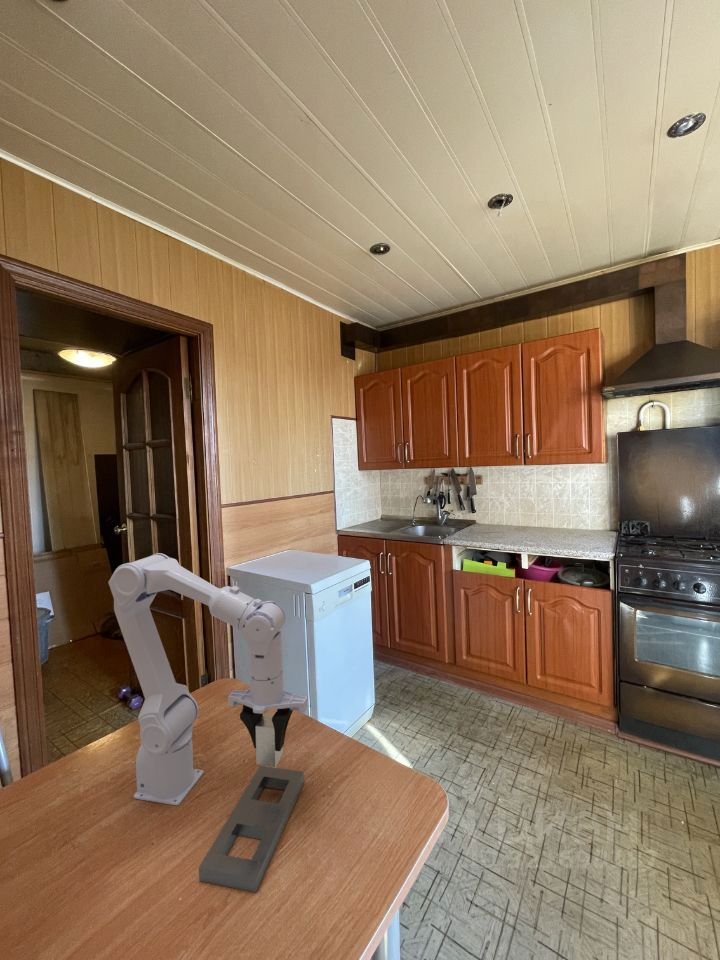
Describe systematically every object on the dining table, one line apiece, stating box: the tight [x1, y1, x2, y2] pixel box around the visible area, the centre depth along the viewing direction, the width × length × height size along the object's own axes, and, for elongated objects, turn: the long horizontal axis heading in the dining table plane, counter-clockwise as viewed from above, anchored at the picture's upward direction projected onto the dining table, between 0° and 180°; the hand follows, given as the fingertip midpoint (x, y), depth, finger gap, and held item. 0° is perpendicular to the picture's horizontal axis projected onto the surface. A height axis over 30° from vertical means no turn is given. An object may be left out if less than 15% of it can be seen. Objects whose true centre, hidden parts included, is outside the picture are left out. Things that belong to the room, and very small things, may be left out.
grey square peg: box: [255, 713, 284, 768], centre depth 72 cm, size 4×4×7 cm
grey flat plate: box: [198, 765, 305, 893], centre depth 67 cm, size 9×20×2 cm, turn 168°
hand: (269, 746), depth 72 cm, fingers closed on grey square peg, 4 cm apart
